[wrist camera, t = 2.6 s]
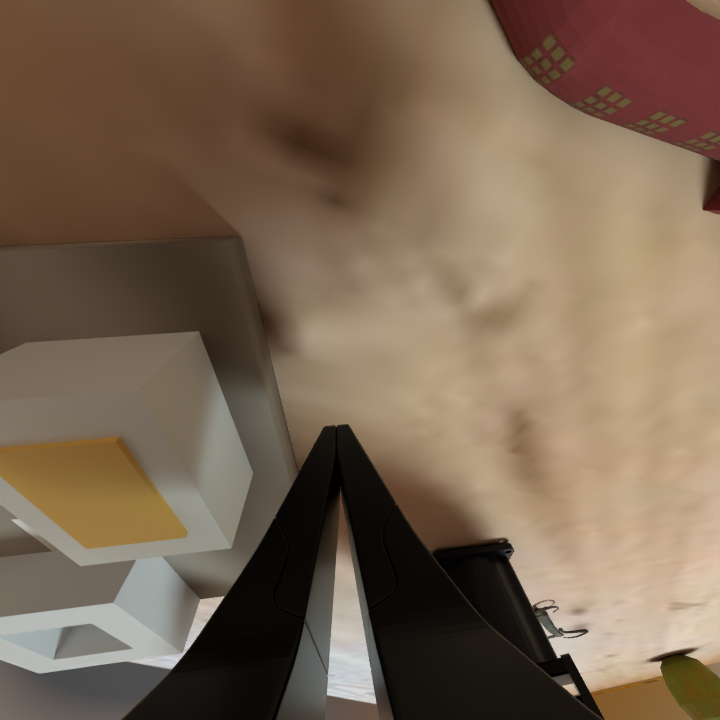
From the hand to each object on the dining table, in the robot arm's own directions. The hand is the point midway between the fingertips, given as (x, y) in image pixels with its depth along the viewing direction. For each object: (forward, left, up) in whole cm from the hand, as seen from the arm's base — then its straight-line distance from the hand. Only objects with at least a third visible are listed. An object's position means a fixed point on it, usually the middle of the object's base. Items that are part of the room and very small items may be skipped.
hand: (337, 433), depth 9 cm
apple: (-68, +82, -3) cm, 107 cm away
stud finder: (+7, 0, -1) cm, 7 cm away
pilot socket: (+14, +12, -1) cm, 19 cm away
